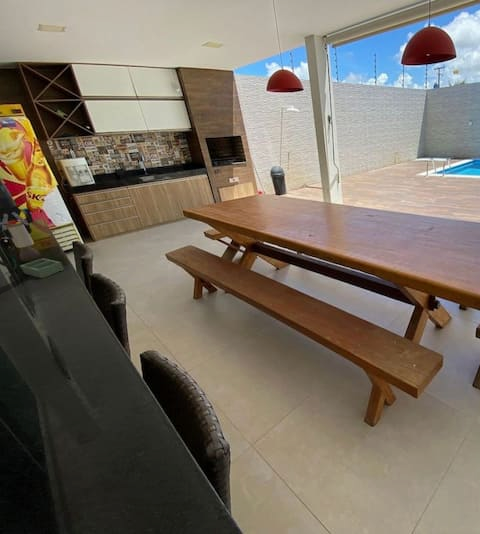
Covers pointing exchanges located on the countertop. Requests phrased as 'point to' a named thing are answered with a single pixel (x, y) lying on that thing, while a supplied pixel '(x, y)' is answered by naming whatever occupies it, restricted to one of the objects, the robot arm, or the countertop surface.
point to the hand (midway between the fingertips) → (19, 235)
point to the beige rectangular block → (20, 235)
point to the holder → (42, 268)
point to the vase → (29, 254)
